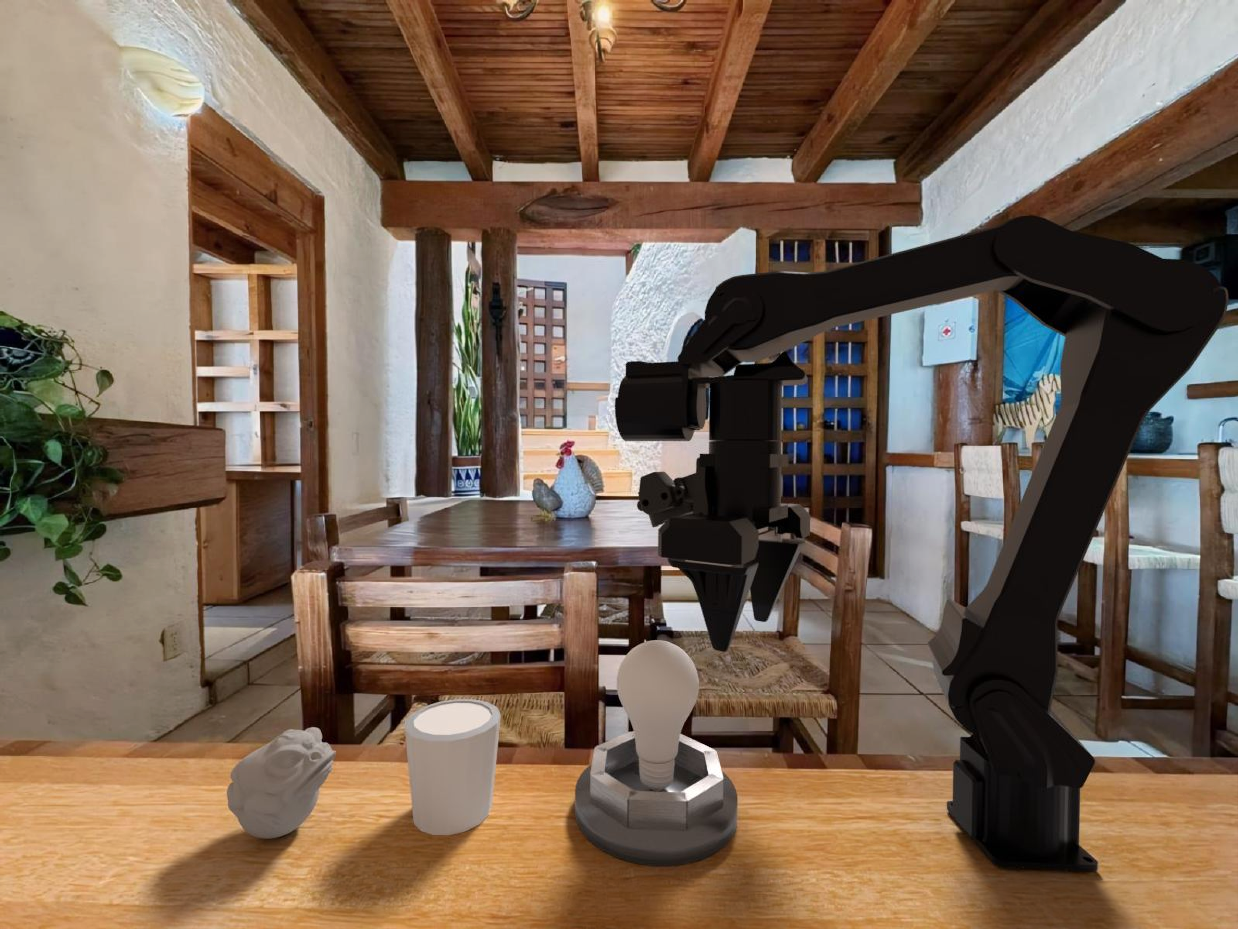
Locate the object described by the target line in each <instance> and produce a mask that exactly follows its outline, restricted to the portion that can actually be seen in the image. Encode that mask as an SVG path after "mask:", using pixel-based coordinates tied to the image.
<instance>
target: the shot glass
mask: <svg viewBox="0 0 1238 929" xmlns="http://www.w3.org/2000/svg"><path fill="white" fill-rule="evenodd" d="M501 717H502V716H501V713H500V710H499V708H498V707H497V706H495V705H494V704H492V703H490V702H489V701H485V700H478V699H475V698H474V699H471V698H470V699H468V698H466V699H464V698H463V699H462V698H455V699H449V700H448V699H447V700H443V701H439V702H438V701H437V702H434V703H432V704H428V705H425V706H422V707H420V708H419V709H417V710H416V711H413V712H412V713H410V715H409V716H408V717H407V719H406V720H405V721H404V733H405V744H406V755H407V756H406V757H407V766H408V776H409V786H410V796H411V797H410V799H411V808H412V809H411V811H412V820H413V825H414V826H415V827H416V828H417V829H418V830H419V832H422V833H426V834H429V835H432V836H453V835H457V834H461V833H464V832H467V831H469V830H471V829H473V828H475V827H477V826H479V825H480V824H482V822H484V820H486V819H487V818H488V817H489V816H490V815H489V814H490V813H491V809H492V807H493V806H492V805H493V798H494V788H495V787H494V786H495V779H496V778H495V777H496V765H497V757H498V749H499V748H498V747H499V738H500V736H499V735H500V726H501V725H500V724H501Z"/></svg>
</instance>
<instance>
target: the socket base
mask: <svg viewBox="0 0 1238 929" xmlns="http://www.w3.org/2000/svg"><path fill="white" fill-rule="evenodd" d="M674 763H675V765H674V776H673V782H672V783H671V784H670V785H669V786H668V787H666V788H663V789H662V790H660V791H654V790H652V789H650V788H649V787H647V786H645V785H644V784H643V783H642V782H641V780H640V773H639V769H640V768H639V756H638V754H637V752H636V741H635V735H634V730H633V731H628V732H625V733H624V734H621V735H619V736H616V737H615V738H612V739H610V740H607V741H605V742H603V743H601V744H597V745H596V746H595V747H594V750H593V756H592V761H591V764H590V765H588V766H587V767H586V768H585V769H584V770H583V772H581V774H580V775H579V777H578V778H577V781H576V785H575V790H574V815H575V821H576V824H577V826H578V828H579V830H580V831H581V834H582V835H583V836H584V837H585V838H586V839H587V841H589V842H590V844H592V845H593V846H595V847H596V848H597V849H599V850H601V851H602V852H604V853H606V854H608V855H610V856H611V857H614V858H618V859H619V860H622V861H626V862H629V863H633V864H639V865H643V866H653V867H672V866H681V865H687V864H691V863H695V862H699V861H701V860H704V859H706V858H708V857H711V856H713V855H715V853H718V852H719V851H721V850H722V849H723V848H724V847H725V846H726V845H727V844H728V843H729V842H730V841H731V839H732V838H733V837H734V834H735V832H736V829H737V825H738V802H739V801H738V792H737V790H736V787H735V785H734V783H733V781H732V779H731V778H729V776H728V775H727V774H726V773H725V772H724V771H723V770H722V767H721V763H720V759H719V756H718V752H717V750H716V749H714V748H711V747H709V746H707V745H705V744H703V743H701V742H699V741H697V740H695V739H692V738H690V737H688V736H686V735H684V734H682V733H680V738H679V743H678V753H677V756H676V757H675V761H674Z"/></svg>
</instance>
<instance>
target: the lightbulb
mask: <svg viewBox="0 0 1238 929" xmlns="http://www.w3.org/2000/svg"><path fill="white" fill-rule="evenodd" d="M619 665H620V666H619V668H618V669H617V670H618V671H617V676H616V691H617V694H618V696H617V697H618V699H619V701H620V703H621V706H622V707H623V710H624V712H625V714H626V715H627V718H628V719H629V721H630V724H631V726H632V730H633V731H634V735H635V741H636V752H637V754H638V756H639V768H640V769H639V773H640V780H641V782H642V783H643V784H644V785H645V786H647V787H649V788H650V789H652V790H654V791H660V790H662V789H663V788H666V787H668V786H669V785H670V784H671V783H672V782H673V776H674V765H675V763H674V761H675V757H676V756H677V753H678V743H679V738H680V734H682V730H683V726H684V725H685V722H686V721H687V719H688V717H689V716H690V714H691V713H692V711H693V709H694V706H695V704H697V699H698V695H699V690H700V682H699V680H700V679H699V675H698V671H697V668H696V665H695V663H694V662H693V660H692V658H691V657H690V656H689V655H688V654H687V652H685V650H684V649H682V648H681V647H679V646H678V645H676V644H674V643H671V642H669V641H666V640H661V639H659V640H658V639H657V640H656V639H655V640H647V641H645V642H643V643H640V644H638V645H636V646H635V647H633V648H631V649H630V651H629V652H628V653H627V654H626V655H625V656H624V658H623V659H622V661H621V662H620V664H619Z"/></svg>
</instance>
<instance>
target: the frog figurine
mask: <svg viewBox="0 0 1238 929" xmlns="http://www.w3.org/2000/svg"><path fill="white" fill-rule="evenodd" d="M322 739H323V734H322V732H321V729H320V728H318V727H314V726H311V727H307V728H306V729H304V730H302V729H292V728H291V729H290V728H289V729H288V730H284V731H283V732H282V733H281V734H279V735H278V736H276V737H275V738H274V739H273V740H272V741H269V742H268V743H267V744H266V745H263V746H262V747H260V748H258V749H255V750H254V751H252V752H251V753H249V754H248V755H246V756H245V757H243V758H242V759H241V760H239V761H238V763H237V764H236V765H235V766H234V767H233V768H232V770H231V772H230V779H231V781H232V782H231V783H230V784H228V786H227V790H226V798H227V806H228V807H227V808H228V809H229V811H230V812H231V813H232V814H233V815H234V816H235V817H236V818H237V820H238V822H239V825H240V826H241V827H242V829H243V830H244V831H245V832H246V833H248V834H249V835H250V836H252V837H256V838H259V839H264V840H267V839H270V840H272V839H277V838H280V837H283V836H285V835H287V834H289V833H291V832H293V831H295V830H296V829H297V828H299V827H300V826H301V825H302V824H303V823H304V822H305V821H306V820H307V819H308V817H309V816H310V815H311V814H312V812H313V810H314V809H315V806H316V805H317V802H318V798H319V795H320V788H321V787H322V786H323V785H324V784H325V782H326V780H327V778H328V776H329V774H330V773H331V772H332V769H333V767H332V765H334V762H335V761H334V758H335V756H336V755H337V751H336V750H333V749H332V747H331V745H330V744H329V743H328V742H322V741H323V740H322Z"/></svg>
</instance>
